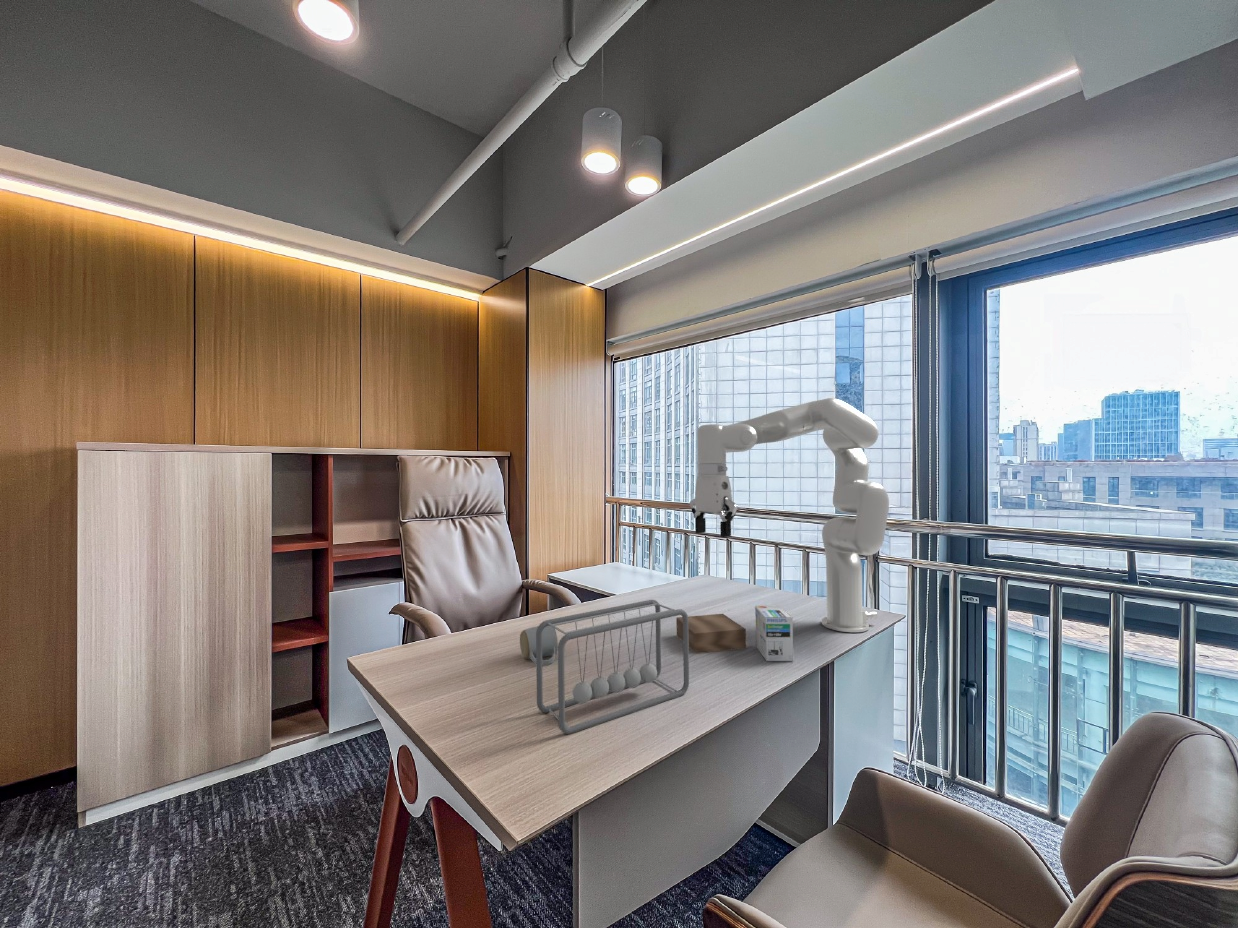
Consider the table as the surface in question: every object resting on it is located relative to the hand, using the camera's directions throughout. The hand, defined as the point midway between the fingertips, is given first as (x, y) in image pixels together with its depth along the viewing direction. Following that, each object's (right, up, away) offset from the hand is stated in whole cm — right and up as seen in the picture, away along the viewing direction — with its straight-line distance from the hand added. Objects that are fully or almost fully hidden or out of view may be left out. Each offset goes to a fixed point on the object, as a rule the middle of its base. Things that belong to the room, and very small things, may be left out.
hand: (712, 534), depth 133 cm
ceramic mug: (-45, -30, -9) cm, 54 cm away
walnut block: (-1, -29, +1) cm, 29 cm away
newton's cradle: (-26, -29, -34) cm, 51 cm away
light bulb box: (+14, -29, -8) cm, 33 cm away
